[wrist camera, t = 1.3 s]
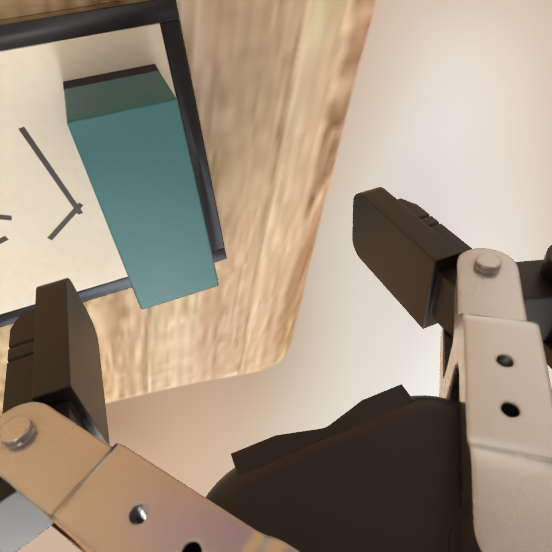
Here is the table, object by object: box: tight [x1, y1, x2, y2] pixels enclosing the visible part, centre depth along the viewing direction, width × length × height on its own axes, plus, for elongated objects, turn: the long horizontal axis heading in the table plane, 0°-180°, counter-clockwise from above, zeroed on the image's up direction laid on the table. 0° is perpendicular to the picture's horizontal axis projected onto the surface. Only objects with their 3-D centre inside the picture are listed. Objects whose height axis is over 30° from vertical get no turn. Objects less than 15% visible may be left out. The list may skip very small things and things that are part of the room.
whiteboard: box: [0, 0, 226, 327], centre depth 25 cm, size 16×22×1 cm
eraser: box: [63, 64, 219, 309], centre depth 24 cm, size 11×5×6 cm, turn 5°
